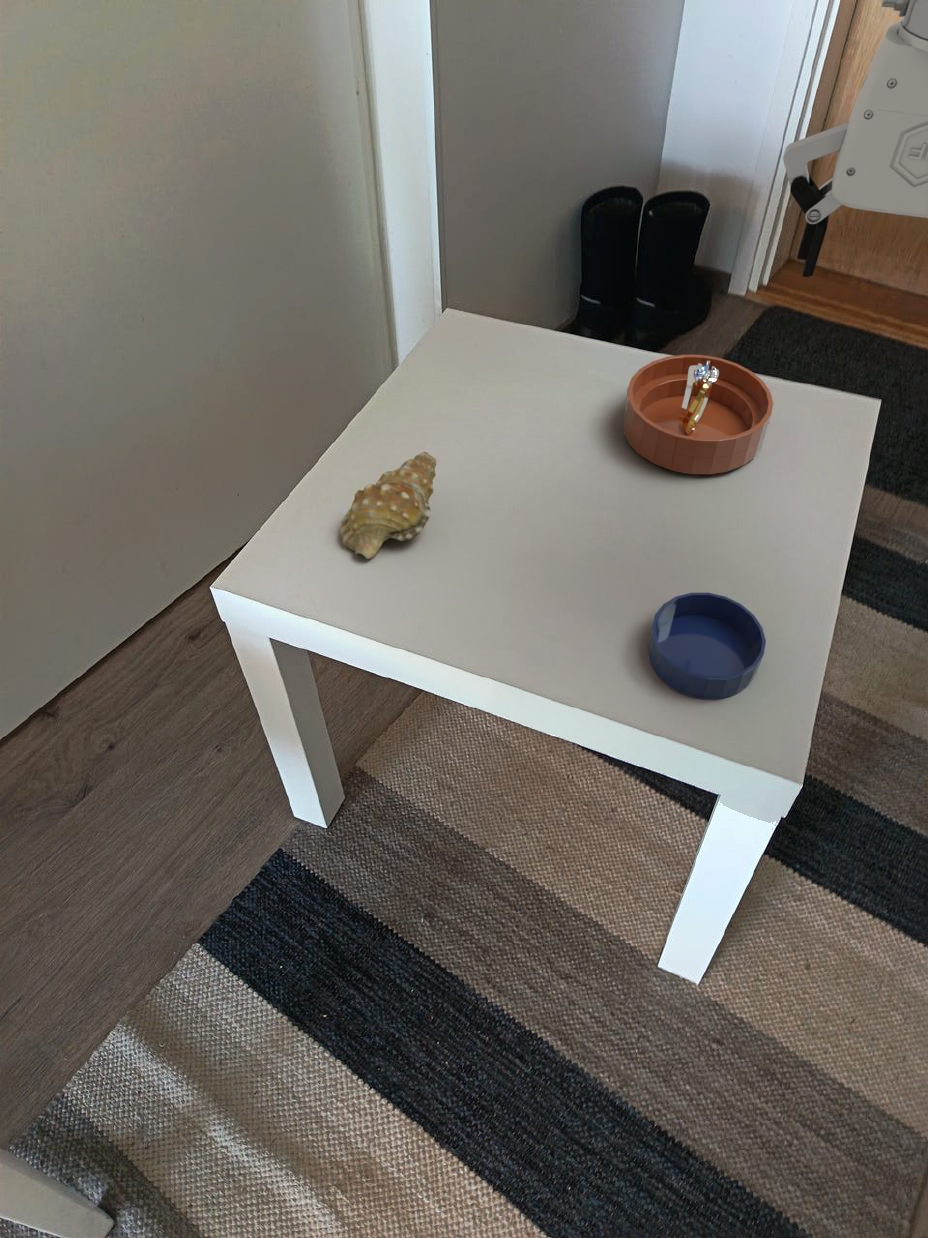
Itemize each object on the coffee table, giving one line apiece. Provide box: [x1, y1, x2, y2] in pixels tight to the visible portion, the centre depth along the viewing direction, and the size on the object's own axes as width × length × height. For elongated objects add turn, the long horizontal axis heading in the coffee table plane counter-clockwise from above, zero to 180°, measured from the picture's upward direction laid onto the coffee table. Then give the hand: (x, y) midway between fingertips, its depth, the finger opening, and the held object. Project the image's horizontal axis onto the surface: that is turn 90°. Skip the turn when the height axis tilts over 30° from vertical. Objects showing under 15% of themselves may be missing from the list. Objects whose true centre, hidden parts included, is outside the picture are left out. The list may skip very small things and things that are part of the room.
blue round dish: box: [647, 592, 767, 701], centre depth 74 cm, size 9×9×3 cm
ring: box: [679, 361, 719, 434], centre depth 91 cm, size 7×3×8 cm, turn 144°
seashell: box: [339, 451, 437, 560], centre depth 85 cm, size 9×8×10 cm
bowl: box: [622, 354, 774, 475], centre depth 93 cm, size 15×15×5 cm
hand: (874, 278), depth 65 cm, fingers open, 9 cm apart
